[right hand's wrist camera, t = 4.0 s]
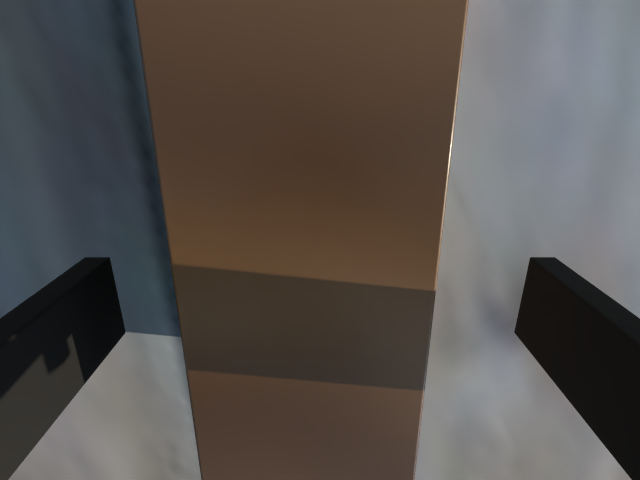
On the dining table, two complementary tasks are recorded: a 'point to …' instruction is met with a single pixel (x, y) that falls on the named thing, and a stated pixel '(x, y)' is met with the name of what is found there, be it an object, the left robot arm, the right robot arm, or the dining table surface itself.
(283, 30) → the bar
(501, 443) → the dining table surface
